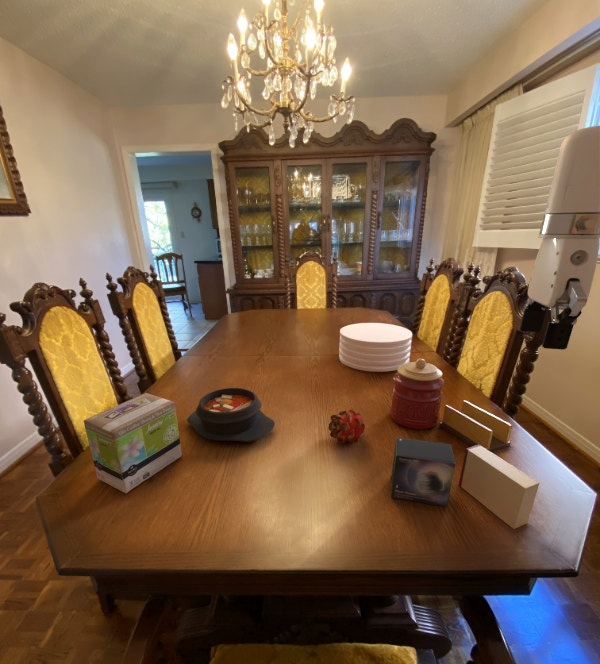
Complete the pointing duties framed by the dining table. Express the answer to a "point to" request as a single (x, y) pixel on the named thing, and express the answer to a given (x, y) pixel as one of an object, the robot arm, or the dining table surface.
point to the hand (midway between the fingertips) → (540, 339)
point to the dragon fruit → (346, 426)
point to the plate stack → (375, 346)
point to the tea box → (133, 440)
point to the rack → (477, 427)
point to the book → (498, 485)
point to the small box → (422, 471)
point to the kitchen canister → (417, 395)
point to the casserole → (231, 416)
